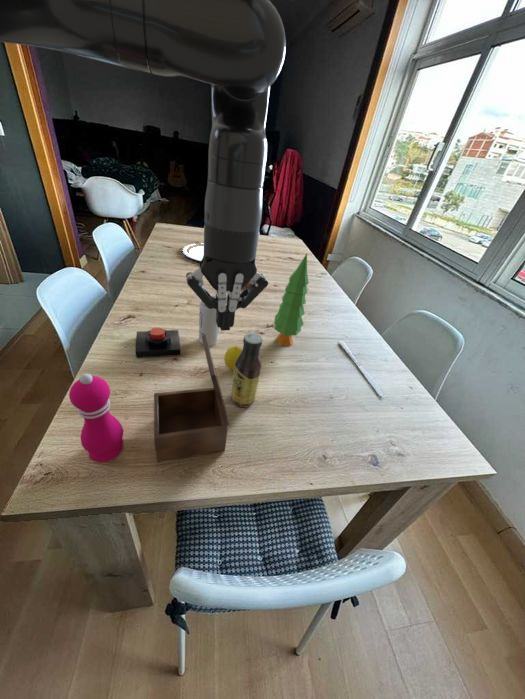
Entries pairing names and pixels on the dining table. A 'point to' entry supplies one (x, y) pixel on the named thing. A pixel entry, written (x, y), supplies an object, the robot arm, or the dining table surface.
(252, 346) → the sauce bottle
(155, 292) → the dining table surface
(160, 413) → the box
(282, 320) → the decorative tree
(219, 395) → the lid
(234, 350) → the lemon
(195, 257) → the plate
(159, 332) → the button
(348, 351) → the butter knife
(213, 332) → the energy drink can
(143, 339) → the button housing
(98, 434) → the pepper mill
